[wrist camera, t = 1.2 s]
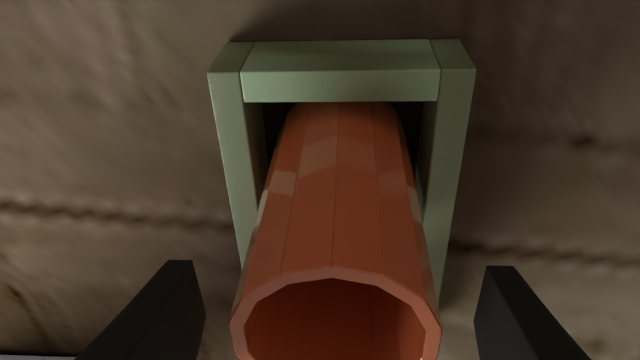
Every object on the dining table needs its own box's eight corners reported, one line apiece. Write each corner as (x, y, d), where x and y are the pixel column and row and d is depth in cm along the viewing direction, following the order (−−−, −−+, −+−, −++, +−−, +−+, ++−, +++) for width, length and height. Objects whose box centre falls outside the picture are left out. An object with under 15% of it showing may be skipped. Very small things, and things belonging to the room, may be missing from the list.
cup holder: (267, 320, 24) (259, 367, 22) (226, 41, 16) (205, 72, 14) (420, 324, 24) (427, 373, 22) (459, 38, 15) (477, 69, 13)
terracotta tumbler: (285, 191, 19) (244, 398, 12) (275, 82, 17) (213, 264, 9) (400, 192, 19) (429, 405, 12) (408, 81, 16) (453, 268, 9)
